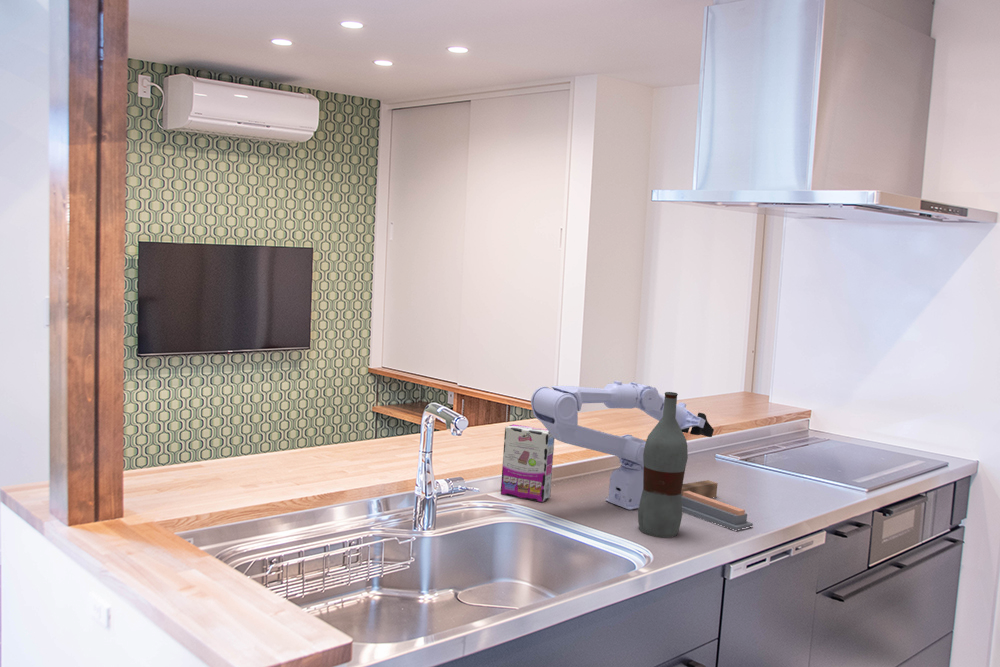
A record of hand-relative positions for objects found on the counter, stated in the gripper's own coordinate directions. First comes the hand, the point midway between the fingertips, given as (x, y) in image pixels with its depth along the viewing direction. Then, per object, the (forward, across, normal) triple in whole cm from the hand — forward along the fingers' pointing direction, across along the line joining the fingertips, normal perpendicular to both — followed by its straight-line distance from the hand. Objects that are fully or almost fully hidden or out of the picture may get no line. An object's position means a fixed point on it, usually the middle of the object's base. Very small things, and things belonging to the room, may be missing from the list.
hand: (699, 431), depth 205 cm
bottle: (-19, -15, +28) cm, 38 cm away
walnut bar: (+2, -1, +18) cm, 18 cm away
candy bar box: (-32, +16, +31) cm, 47 cm away
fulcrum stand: (-2, -14, +20) cm, 24 cm away
